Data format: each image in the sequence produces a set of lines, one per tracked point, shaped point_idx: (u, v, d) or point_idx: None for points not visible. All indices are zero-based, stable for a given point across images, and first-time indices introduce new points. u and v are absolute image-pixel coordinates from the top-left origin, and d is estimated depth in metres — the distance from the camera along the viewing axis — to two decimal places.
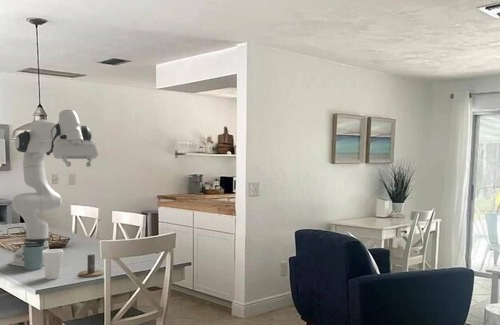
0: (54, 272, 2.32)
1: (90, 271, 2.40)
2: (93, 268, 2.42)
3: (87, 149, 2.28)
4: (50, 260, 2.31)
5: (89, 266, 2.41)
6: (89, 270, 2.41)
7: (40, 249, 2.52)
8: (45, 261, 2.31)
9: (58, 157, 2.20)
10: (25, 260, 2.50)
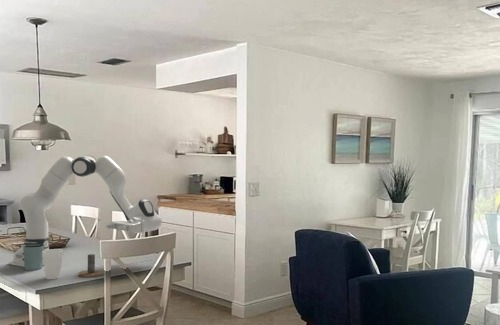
0: (54, 272, 2.32)
1: (90, 271, 2.41)
2: (93, 268, 2.42)
3: None
4: (50, 260, 2.31)
5: (89, 266, 2.41)
6: (89, 270, 2.41)
7: (40, 249, 2.52)
8: (45, 261, 2.31)
9: (129, 227, 2.49)
10: (25, 260, 2.50)
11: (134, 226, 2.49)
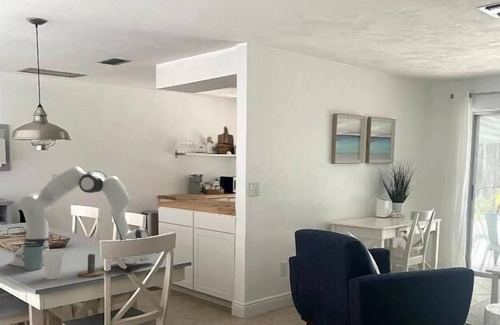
0: (54, 272, 2.32)
1: (90, 271, 2.41)
2: (93, 268, 2.42)
3: None
4: (50, 260, 2.31)
5: (89, 266, 2.41)
6: (89, 270, 2.41)
7: (40, 249, 2.52)
8: (45, 261, 2.31)
9: (124, 259, 2.46)
10: (25, 260, 2.50)
11: (128, 258, 2.47)
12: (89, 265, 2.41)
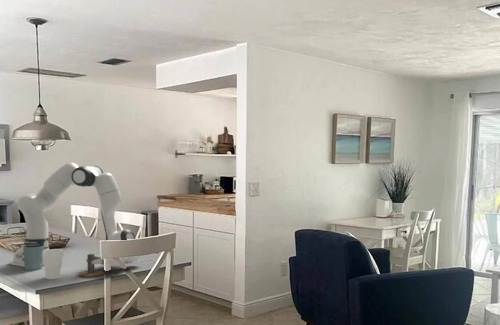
0: (54, 272, 2.32)
1: (90, 271, 2.41)
2: (93, 268, 2.42)
3: None
4: (50, 260, 2.31)
5: (89, 266, 2.41)
6: (89, 270, 2.41)
7: (40, 249, 2.52)
8: (45, 261, 2.31)
9: None
10: (25, 260, 2.50)
11: (112, 260, 2.39)
12: (89, 265, 2.41)
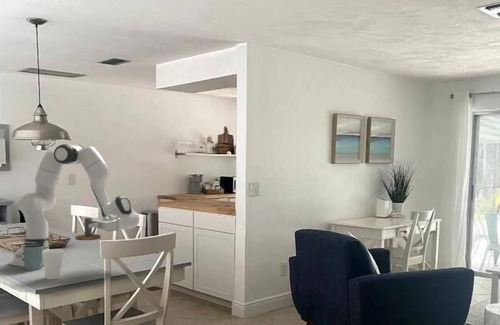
0: (54, 272, 2.32)
1: (87, 234, 2.40)
2: (90, 231, 2.41)
3: None
4: (50, 260, 2.31)
5: (86, 229, 2.40)
6: (86, 233, 2.40)
7: (40, 249, 2.52)
8: (45, 261, 2.31)
9: (104, 225, 2.38)
10: (25, 260, 2.50)
11: (109, 224, 2.39)
12: (86, 229, 2.40)
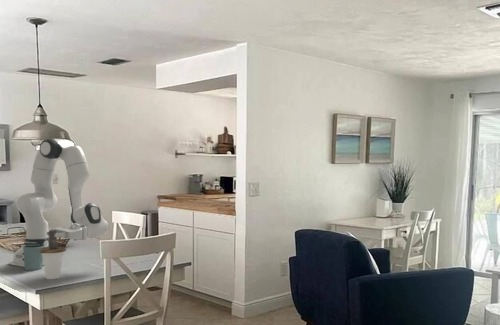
0: (54, 272, 2.32)
1: (52, 247, 2.33)
2: (55, 244, 2.35)
3: None
4: (50, 260, 2.31)
5: (51, 242, 2.34)
6: (51, 246, 2.34)
7: None
8: (45, 261, 2.31)
9: (69, 234, 2.32)
10: (25, 260, 2.50)
11: (74, 233, 2.32)
12: (51, 241, 2.34)
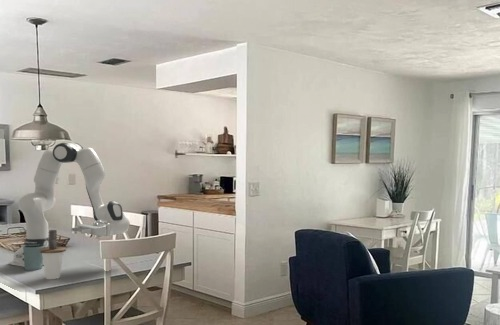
0: (54, 272, 2.32)
1: (52, 247, 2.33)
2: (55, 244, 2.35)
3: None
4: (50, 260, 2.31)
5: (51, 242, 2.34)
6: (51, 246, 2.34)
7: None
8: (45, 261, 2.31)
9: (93, 231, 2.42)
10: (25, 260, 2.50)
11: (98, 229, 2.42)
12: (51, 241, 2.34)
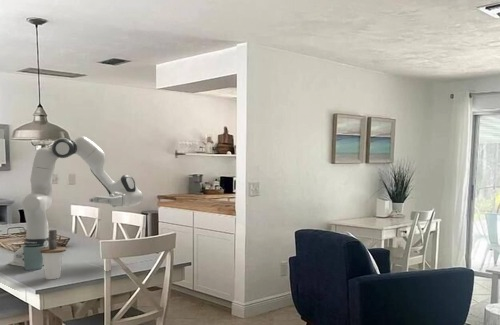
0: (54, 272, 2.32)
1: (52, 247, 2.33)
2: (55, 244, 2.35)
3: None
4: (50, 260, 2.31)
5: (51, 242, 2.34)
6: (51, 246, 2.34)
7: None
8: (45, 261, 2.31)
9: (110, 200, 2.59)
10: (25, 260, 2.50)
11: (115, 199, 2.60)
12: (51, 241, 2.34)
